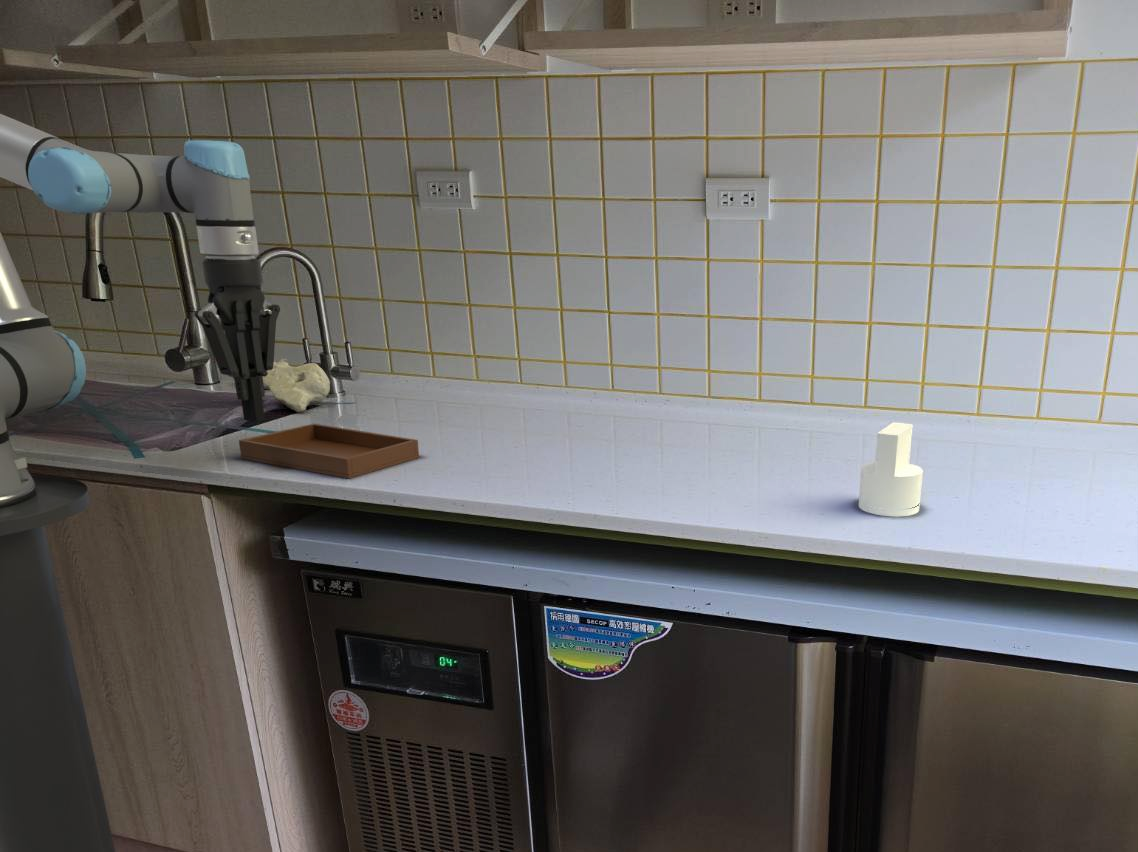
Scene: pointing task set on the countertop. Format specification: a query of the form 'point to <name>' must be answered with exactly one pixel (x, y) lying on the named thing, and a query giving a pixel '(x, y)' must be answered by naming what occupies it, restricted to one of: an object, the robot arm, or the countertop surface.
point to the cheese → (297, 384)
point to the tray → (329, 450)
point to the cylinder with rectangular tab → (891, 475)
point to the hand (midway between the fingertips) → (254, 420)
